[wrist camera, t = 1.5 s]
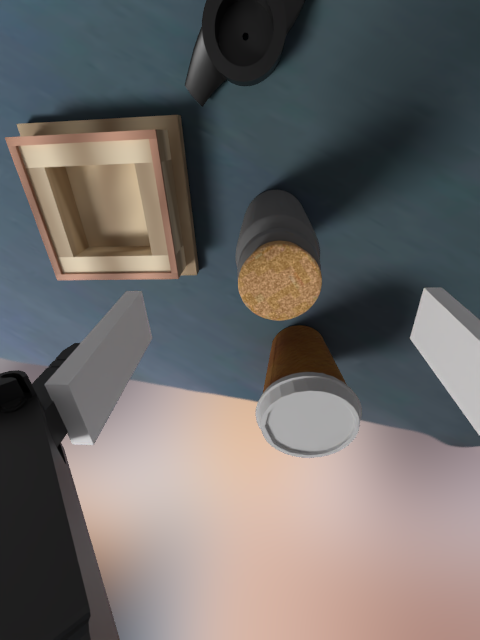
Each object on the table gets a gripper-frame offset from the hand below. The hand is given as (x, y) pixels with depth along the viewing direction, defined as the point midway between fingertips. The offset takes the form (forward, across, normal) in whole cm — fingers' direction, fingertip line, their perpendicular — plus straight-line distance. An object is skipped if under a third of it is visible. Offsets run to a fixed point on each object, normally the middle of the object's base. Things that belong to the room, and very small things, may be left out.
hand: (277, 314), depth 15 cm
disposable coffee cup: (+18, +3, -15) cm, 24 cm away
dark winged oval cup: (+18, -2, +14) cm, 23 cm away
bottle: (+18, 0, 0) cm, 18 cm away
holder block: (+18, -15, +2) cm, 23 cm away
